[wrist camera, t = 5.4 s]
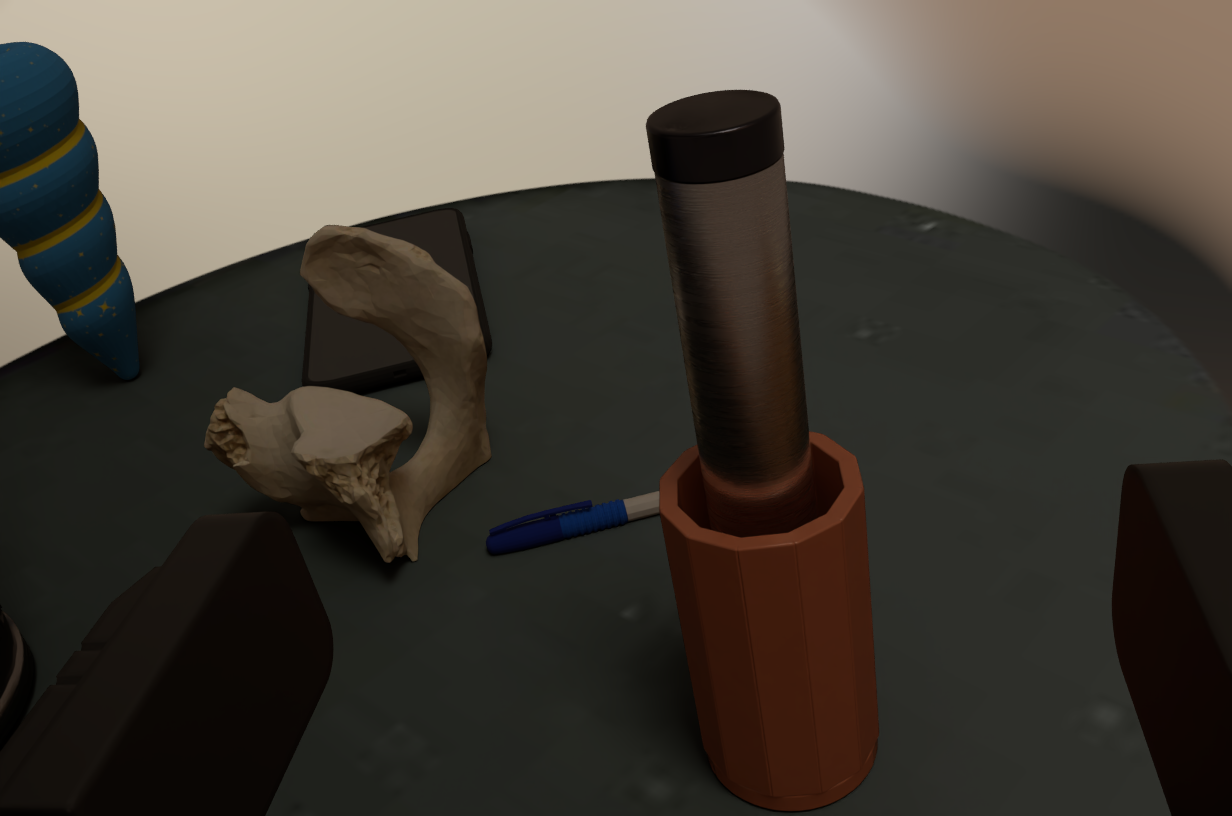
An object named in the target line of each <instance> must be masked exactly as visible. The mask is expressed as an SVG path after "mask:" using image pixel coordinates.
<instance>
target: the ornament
mask: <svg viewBox="0 0 1232 816" xmlns="http://www.w3.org/2000/svg"><path fill="white" fill-rule="evenodd" d="M115 231H116V230H115V223H114V219H113V214H112V211H111V208H110V205H109V204H108V202H107V200H106V198H105V197H104V195H103V194H102V192H101V191H100V190H99V169H98V153H97V148H96V145H95V142H94V139H93V137H92V135H91V133H90V132H89V130H88V128H87V127H86V126H85V125H84V123H83V122H82V121H81V120H80V119H79V100H78V90H77V85H76V81H75V78H74V76H73V73H72V71H71V69H70V68H69V66H68V65H67V64H66V62H65V61H64V60H63V59H62V58H61V57H60V56H58V55H57V54H56V53H54V52H53V51H51V50H49V49H48V48H46V47H43V46H41V45H38V44H34V43H29V42H13V43H6V44H0V238H2V239H3V240H4V241H5V242H6V243H7V244H8V245H10V246H11V247H12V248H13V249H14V250H16V252H17V255H18V260H19V264H20V267H21V269H22V272H23V273H24V275H25V277H26V278H27V280H28V281H29V282H30V284H31V285H32V286H33V287H34V288H35V289H36V290H37V291H38V293H39V294H40V295H41V296H42V297H43V298H44V299H45V300H46V301H47V302H48V303H49V304H50V305H51V306H52V307H53V308H54V309H55V310H56V311H57V314H58V317H59V321H60V323H61V326H62V328H63V330H64V331H65V333H66V334H67V335H68V336H69V337H70V338H71V339H72V340H73V341H74V342H75V343H76V344H78V345H79V346H80V347H82V348H83V349H84V350H86V351H87V352H89V353H90V354H91V355H93V356H94V357H95V358H97V359H98V360H99V361H101V362H102V363H103V364H105V365H106V366H107V367H109V368H110V369H111V370H112V371H113V372H115V373H116V374H117V375H118V376H119V377H120V378H122V379H124V380H131V379H133V378H135V377H136V376H137V374H138V373H139V356H138V342H137V327H136V312H135V300H134V292H133V286H132V282H131V279H130V276H129V273H128V271H127V269H126V267H125V265H124V263H123V262H122V260H121V259H120V258H119V256H118V255H117V243H116V232H115Z"/></svg>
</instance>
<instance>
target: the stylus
mask: <svg viewBox="0 0 1232 816" xmlns="http://www.w3.org/2000/svg"><path fill="white" fill-rule="evenodd" d="M646 130H647V136H648V143H649V149H650V155H651V162H652V168H653V171H654V172H655V179H656V185H657V191H658V198H659V204H660V210H661V217H662V223H663V229H664V236H665V242H666V248H667V255H668V261H669V267H670V274H671V280H672V287H673V293H674V299H675V306H676V312H677V318H678V325H679V331H680V337H681V344H682V350H683V356H684V363H685V369H686V375H687V382H688V388H689V394H690V401H691V407H692V413H693V420H694V426H695V432H696V439H697V445H698V451H699V458H700V464H701V470H702V477H703V483H704V489H705V496H706V502H707V508H708V515H709V521H710V527H711V530H713V531H717V532H721V533H725V534H729V535H733V536H737V537H751V536H761V535H770V534H780V533H788V532H790V531H792V530H794V529H796V528H798V527H800V526H802V525H804V524H806V523H809V522H811V521H813V520H815V519H817V513H816V502H815V491H814V480H813V470H812V459H811V448H810V437H809V426H808V415H807V404H806V393H805V383H804V372H803V361H802V350H801V339H800V328H799V317H798V306H797V295H796V285H795V274H794V263H793V252H792V241H791V230H790V219H789V208H788V198H787V187H786V176H785V166H784V154H783V152H784V140H783V129H782V119H781V107H780V103H779V102H778V100H777V98H776V97H774V96H773V95H770V94H768V93H764V92H758V91H752V90H725V91H715V92H708V93H703V94H698V95H694V96H690V97H686V98H683V99H680V100H677V101H674V102H672V103H669V104H667V105H665V106H663V107H661V108H659V109H658V110H656V111H655V112H653V113H652V114H651V115H650V116H649V118H648V119H647V123H646Z"/></svg>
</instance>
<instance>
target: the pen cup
mask: <svg viewBox="0 0 1232 816" xmlns="http://www.w3.org/2000/svg"><path fill="white" fill-rule="evenodd" d="M809 437H810V448H811V459H812V470H813V480H814V491H815V502H816V513H817V519H815V520H813V521H811V522H809V523H806V524H804V525H802V526H800V527H798V528H796V529H794V530H792V531H790V532H788V533H780V534H770V535H761V536H751V537H737V536H733V535H729V534H725V533H721V532H717V531H713V530H711V527H710V521H709V515H708V508H707V502H706V496H705V489H704V483H703V477H702V470H701V464H700V458H699V451H698V445H695V446H693V447H691V448H689V449H687V450H686V451H684V452H683V453H682V454H681V455H680V457H679V458H678V459H677V460H676V461H675V462H674V463H673V464H672V466H671V467H670V468H669V469H668V470H667V471H666V472H665V473H664V475H663V476H662V477H661V479H660V485H659V512H660V518H661V523H662V528H663V534H664V539H665V545H666V550H667V555H668V561H669V566H670V571H671V577H672V582H673V587H674V593H675V598H676V603H677V609H678V614H679V619H680V625H681V630H682V635H683V641H684V646H685V651H686V657H687V662H688V667H689V673H690V678H691V683H692V689H693V694H694V699H695V705H696V710H697V715H698V721H699V726H700V731H701V737H702V742H703V747H704V750H705V751H706V753H707V757H708V760H709V763H710V766H711V768H712V770H713V772H714V773H715V775H716V776H717V778H718V779H719V780H720V781H721V782H722V784H723V785H724V786H725V787H726V788H727V789H729V790H730V791H731V792H732V793H734V794H735V795H737V796H738V797H740V798H741V799H743V800H745V801H747V802H749V803H751V804H754V805H757V806H760V807H763V808H767V809H772V810H779V811H803V810H811V809H815V808H819V807H823V806H825V805H828V804H831V803H833V802H835V801H837V800H839V799H841V798H843V797H844V796H846V795H847V794H849V793H850V792H852V791H853V790H854V789H855V788H856V787H857V786H858V785H860V783H861V782H862V781H863V780H864V779H865V777H866V776H867V774H868V773H869V771H870V769H871V768H872V766H873V763H874V761H875V758H876V753H877V747H878V736H879V721H878V705H877V689H876V672H875V656H874V640H873V624H872V608H871V592H870V576H869V560H868V544H867V527H866V511H865V495H864V486H863V482H862V478H861V474H860V470H859V466H858V462H857V458H856V457H855V456H854V455H853V454H851V453H850V452H849V451H847V450H846V449H844V448H843V447H841V446H840V445H838V444H837V443H836V442H834V441H833V440H831V439H830V438H828V437H827V436H826V435H823V434H820V433H815V432H810V431H809Z"/></svg>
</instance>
